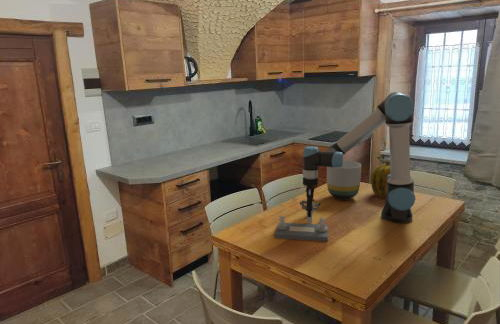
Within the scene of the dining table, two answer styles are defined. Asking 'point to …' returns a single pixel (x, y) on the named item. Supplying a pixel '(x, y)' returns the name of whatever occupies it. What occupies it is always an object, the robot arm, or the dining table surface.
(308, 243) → the dining table surface
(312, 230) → the gear board
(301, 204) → the mechanical component
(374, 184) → the pumpkin
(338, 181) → the planter
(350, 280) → the dining table surface
